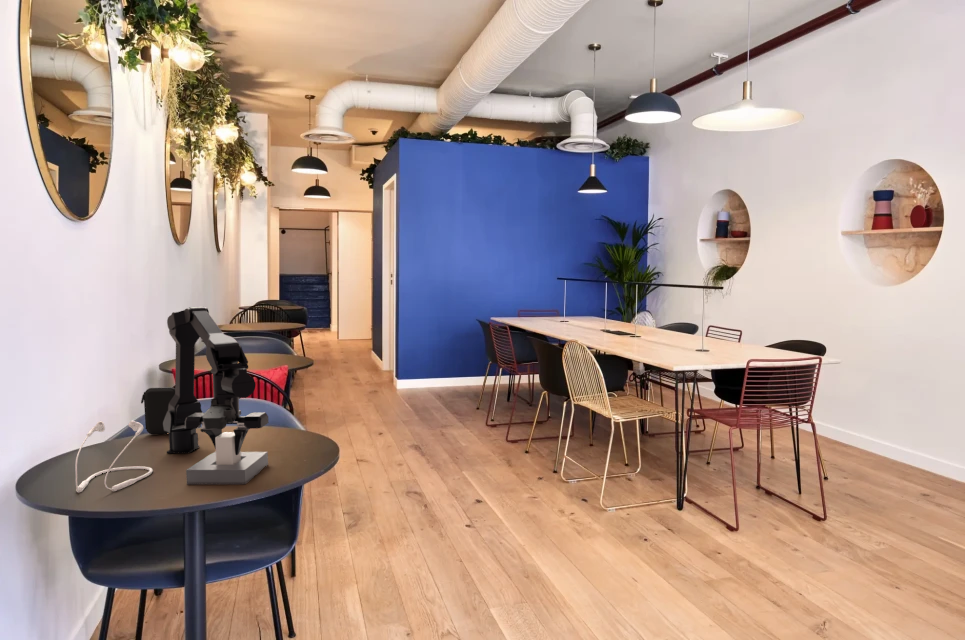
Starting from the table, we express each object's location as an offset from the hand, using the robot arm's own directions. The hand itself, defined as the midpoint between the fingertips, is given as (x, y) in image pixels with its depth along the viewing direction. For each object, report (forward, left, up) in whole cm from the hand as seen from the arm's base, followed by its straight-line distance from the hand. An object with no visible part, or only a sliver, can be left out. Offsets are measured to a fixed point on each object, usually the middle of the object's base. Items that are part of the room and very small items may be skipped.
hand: (228, 454), depth 157 cm
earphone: (-26, -5, -5) cm, 27 cm away
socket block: (0, 0, -5) cm, 5 cm away
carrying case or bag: (-38, +39, -5) cm, 55 cm away
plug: (0, 0, -3) cm, 3 cm away
